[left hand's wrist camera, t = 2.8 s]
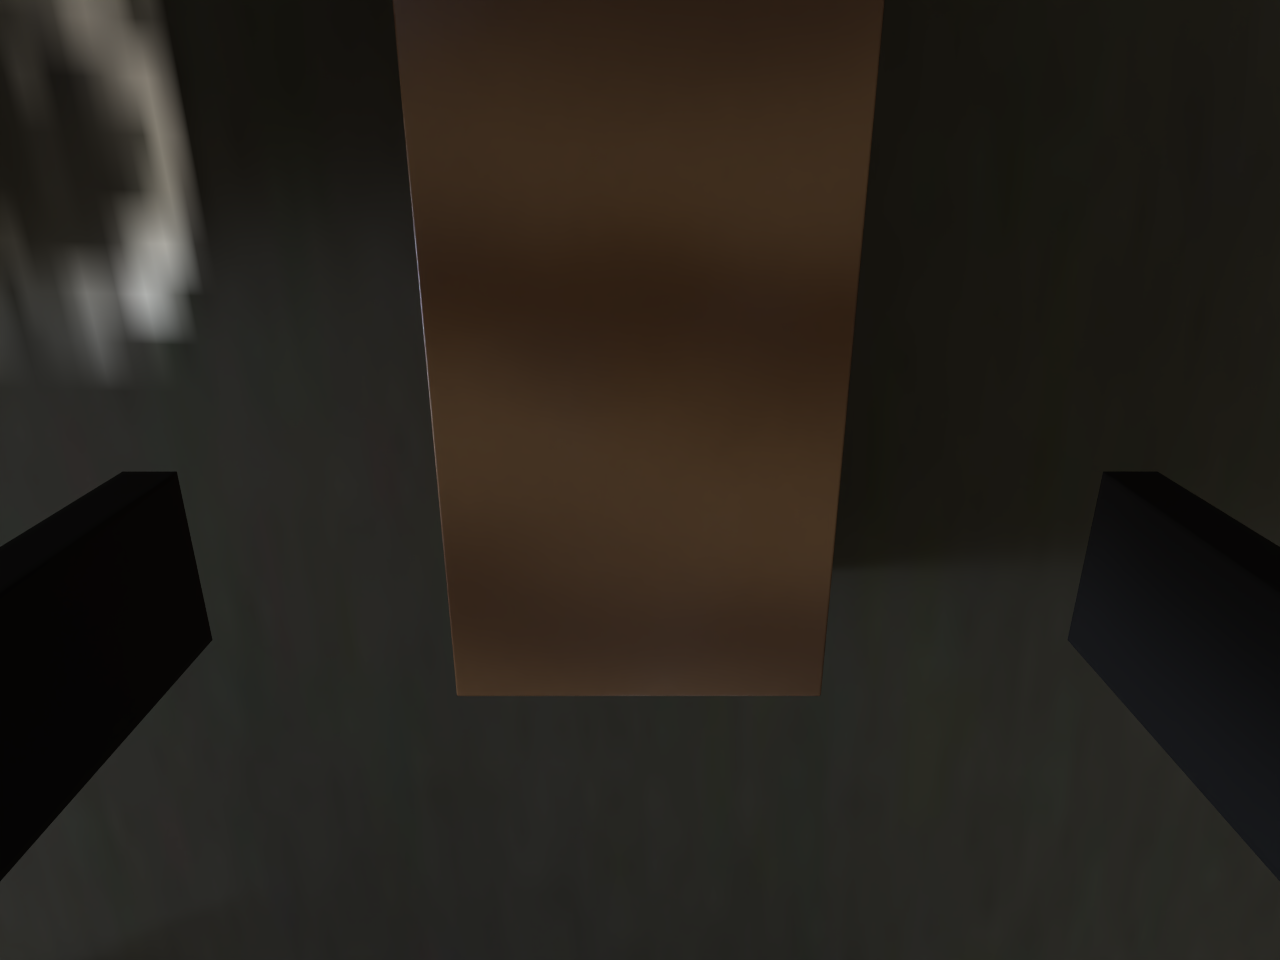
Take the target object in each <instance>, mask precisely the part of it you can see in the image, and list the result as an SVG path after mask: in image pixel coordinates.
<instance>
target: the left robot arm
mask: <svg viewBox="0 0 1280 960" xmlns="http://www.w3.org/2000/svg"><path fill="white" fill-rule="evenodd" d="M211 641H212V636H211V631H210V626H209V622H208V617H207V612H206V608H205V603H204V598H203V593H202V589H201V584H200V579H199V575H198V570H197V565H196V560H195V556H194V551H193V546H192V542H191V537H190V532H189V527H188V523H187V518H186V513H185V509H184V504H183V499H182V494H181V490H180V485H179V480H178V476H177V472H121V473H120V474H118V475H116V476H115V477H113V478H112V479H110V480H108V481H107V482H105V483H103V484H102V485H100V486H99V487H97V488H95V489H94V490H92V491H90V492H89V493H87V494H86V495H84V496H82V497H81V498H79V499H77V500H76V501H74V502H73V503H71V504H69V505H68V506H66V507H64V508H63V509H61V510H60V511H58V512H56V513H55V514H53V515H51V516H50V517H48V518H47V519H45V520H43V521H42V522H40V523H38V524H37V525H35V526H34V527H32V528H30V529H29V530H27V531H25V532H24V533H22V534H21V535H19V536H17V537H16V538H14V539H12V540H11V541H9V542H8V543H6V544H4V545H3V546H1V547H0V881H1V880H2V879H3V878H4V876H5V875H6V874H7V873H8V872H9V871H10V870H11V868H12V867H13V866H14V865H15V864H16V863H17V862H18V860H19V859H20V858H21V857H22V856H23V855H24V854H25V853H26V851H27V850H28V849H29V848H30V847H31V846H32V845H33V843H34V842H35V841H36V840H37V839H38V838H39V837H40V835H41V834H42V833H43V832H44V831H45V830H46V829H47V827H48V826H49V825H50V824H51V823H52V822H53V821H54V820H55V818H56V817H57V816H58V815H59V814H60V813H61V812H62V810H63V809H64V808H65V807H66V806H67V805H68V804H69V802H70V801H71V800H72V799H73V798H74V797H75V796H76V794H77V793H78V792H79V791H80V790H81V789H82V788H83V787H84V785H85V784H86V783H87V782H88V781H89V780H90V779H91V777H92V776H93V775H94V774H95V773H96V772H97V771H98V769H99V768H100V767H101V766H102V765H103V764H104V763H105V761H106V760H107V759H108V758H109V757H110V756H111V755H112V753H113V752H114V751H115V750H116V749H117V748H118V747H119V746H120V744H121V743H122V742H123V741H124V740H125V739H126V738H127V736H128V735H129V734H130V733H131V732H132V731H133V730H134V728H135V727H136V726H137V725H138V724H139V723H140V722H141V720H142V719H143V718H144V717H145V716H146V715H147V714H148V713H149V711H150V710H151V709H152V708H153V707H154V706H155V705H156V703H157V702H158V701H159V700H160V699H161V698H162V697H163V695H164V694H165V693H166V692H167V691H168V690H169V689H170V687H171V686H172V685H173V684H174V683H175V682H176V681H177V680H178V678H179V677H180V676H181V675H182V674H183V673H184V672H185V670H186V669H187V668H188V667H189V666H190V665H191V664H192V662H193V661H194V660H195V659H196V658H197V657H198V656H199V654H200V653H201V652H202V651H203V650H204V649H205V648H206V647H207V645H208V644H209V643H210V642H211ZM1068 641H1069V642H1070V643H1071V644H1072V645H1073V647H1074V648H1075V649H1076V650H1077V651H1078V652H1079V653H1080V654H1081V656H1082V657H1083V658H1084V659H1085V660H1086V661H1087V662H1088V664H1089V665H1090V666H1091V667H1092V668H1093V669H1094V670H1095V672H1096V673H1097V674H1098V675H1099V676H1100V677H1101V678H1102V680H1103V681H1104V682H1105V683H1106V684H1107V685H1108V686H1109V687H1110V689H1111V690H1112V691H1113V692H1114V693H1115V694H1116V695H1117V697H1118V698H1119V699H1120V700H1121V701H1122V702H1123V703H1124V705H1125V706H1126V707H1127V708H1128V709H1129V710H1130V711H1131V713H1132V714H1133V715H1134V716H1135V717H1136V718H1137V719H1138V720H1139V722H1140V723H1141V724H1142V725H1143V726H1144V727H1145V728H1146V730H1147V731H1148V732H1149V733H1150V734H1151V735H1152V736H1153V738H1154V739H1155V740H1156V741H1157V742H1158V743H1159V744H1160V746H1161V747H1162V748H1163V749H1164V750H1165V751H1166V752H1167V754H1168V755H1169V756H1170V757H1171V758H1172V759H1173V760H1174V761H1175V763H1176V764H1177V765H1178V766H1179V767H1180V768H1181V769H1182V771H1183V772H1184V773H1185V774H1186V775H1187V776H1188V777H1189V779H1190V780H1191V781H1192V782H1193V783H1194V784H1195V785H1196V787H1197V788H1198V789H1199V790H1200V791H1201V792H1202V793H1203V794H1204V796H1205V797H1206V798H1207V799H1208V800H1209V801H1210V802H1211V804H1212V805H1213V806H1214V807H1215V808H1216V809H1217V810H1218V812H1219V813H1220V814H1221V815H1222V816H1223V817H1224V818H1225V820H1226V821H1227V822H1228V823H1229V824H1230V825H1231V826H1232V827H1233V829H1234V830H1235V831H1236V832H1237V833H1238V834H1239V835H1240V837H1241V838H1242V839H1243V840H1244V841H1245V842H1246V843H1247V845H1248V846H1249V847H1250V848H1251V849H1252V850H1253V851H1254V853H1255V854H1256V855H1257V856H1258V857H1259V858H1260V859H1261V860H1262V862H1263V863H1264V864H1265V865H1266V866H1267V867H1268V868H1269V870H1270V871H1271V872H1272V873H1273V874H1274V875H1275V876H1276V878H1277V879H1278V880H1279V881H1280V547H1279V546H1277V545H1276V544H1274V543H1272V542H1271V541H1269V540H1268V539H1266V538H1264V537H1263V536H1261V535H1259V534H1258V533H1256V532H1255V531H1253V530H1251V529H1250V528H1248V527H1246V526H1245V525H1243V524H1242V523H1240V522H1238V521H1237V520H1235V519H1233V518H1232V517H1230V516H1229V515H1227V514H1225V513H1224V512H1222V511H1220V510H1219V509H1217V508H1216V507H1214V506H1212V505H1211V504H1209V503H1207V502H1206V501H1204V500H1203V499H1201V498H1199V497H1198V496H1196V495H1194V494H1193V493H1191V492H1190V491H1188V490H1186V489H1185V488H1183V487H1181V486H1180V485H1178V484H1177V483H1175V482H1173V481H1172V480H1170V479H1168V478H1167V477H1165V476H1164V475H1162V474H1160V473H1159V472H1103V476H1102V480H1101V485H1100V490H1099V494H1098V499H1097V504H1096V509H1095V513H1094V518H1093V523H1092V527H1091V532H1090V537H1089V542H1088V546H1087V551H1086V556H1085V560H1084V565H1083V570H1082V575H1081V579H1080V584H1079V589H1078V593H1077V598H1076V603H1075V608H1074V612H1073V617H1072V622H1071V626H1070V631H1069V636H1068Z"/></svg>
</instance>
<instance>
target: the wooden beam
mask: <svg viewBox="0 0 1280 960" xmlns="http://www.w3.org/2000/svg"><path fill="white" fill-rule="evenodd" d="M884 2H885V0H392V3H393V13H394V24H395V35H396V45H397V56H398V67H399V78H400V88H401V99H402V110H403V120H404V131H405V142H406V153H407V163H408V174H409V185H410V195H411V206H412V217H413V228H414V238H415V249H416V260H417V270H418V281H419V292H420V303H421V313H422V324H423V335H424V345H425V356H426V367H427V378H428V388H429V399H430V410H431V421H432V431H433V442H434V453H435V463H436V474H437V485H438V496H439V506H440V517H441V528H442V538H443V549H444V560H445V571H446V581H447V592H448V603H449V613H450V624H451V635H452V646H453V656H454V667H455V678H456V688H457V695H458V696H820V695H821V686H822V675H823V664H824V653H825V642H826V631H827V621H828V610H829V599H830V588H831V577H832V566H833V555H834V545H835V534H836V523H837V512H838V501H839V490H840V480H841V469H842V458H843V447H844V436H845V425H846V414H847V404H848V393H849V382H850V371H851V360H852V349H853V338H854V328H855V317H856V306H857V295H858V284H859V273H860V262H861V252H862V241H863V230H864V219H865V208H866V197H867V187H868V176H869V165H870V154H871V143H872V132H873V121H874V111H875V100H876V89H877V78H878V67H879V56H880V45H881V35H882V24H883V13H884Z"/></svg>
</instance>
